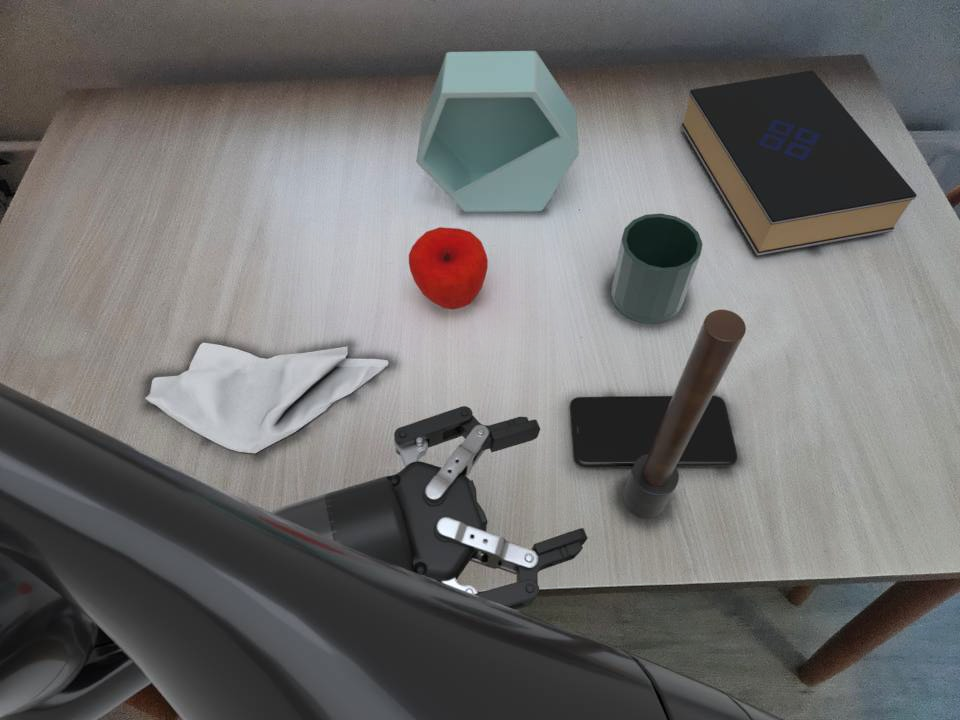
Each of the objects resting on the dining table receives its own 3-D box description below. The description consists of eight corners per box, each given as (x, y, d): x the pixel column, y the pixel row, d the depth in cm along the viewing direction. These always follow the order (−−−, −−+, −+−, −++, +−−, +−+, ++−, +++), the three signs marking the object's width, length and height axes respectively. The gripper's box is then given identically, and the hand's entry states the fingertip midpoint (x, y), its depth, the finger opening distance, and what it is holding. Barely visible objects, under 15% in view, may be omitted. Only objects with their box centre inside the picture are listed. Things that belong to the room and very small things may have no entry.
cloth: (125, 447, 67) (114, 437, 65) (170, 339, 74) (161, 327, 72) (371, 461, 65) (366, 452, 63) (392, 349, 72) (389, 337, 70)
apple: (399, 295, 76) (389, 250, 70) (452, 255, 80) (447, 208, 73) (451, 337, 73) (445, 294, 66) (505, 293, 76) (504, 247, 69)
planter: (488, 236, 87) (384, 130, 74) (490, 196, 92) (392, 89, 78) (600, 183, 79) (507, 51, 65) (597, 141, 83) (508, 9, 69)
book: (795, 112, 92) (813, 69, 86) (889, 236, 78) (918, 195, 73) (679, 131, 91) (690, 89, 85) (754, 261, 77) (773, 220, 72)
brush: (673, 507, 61) (774, 336, 38) (638, 526, 60) (719, 363, 37) (649, 472, 63) (730, 289, 40) (614, 490, 62) (677, 314, 39)
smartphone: (722, 398, 67) (568, 399, 68) (724, 393, 66) (569, 395, 67) (738, 468, 63) (573, 469, 63) (741, 464, 62) (574, 465, 62)
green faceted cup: (697, 306, 74) (718, 252, 66) (637, 334, 72) (652, 282, 64) (655, 259, 78) (670, 204, 70) (597, 284, 76) (607, 230, 69)
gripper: (354, 654, 36) (615, 561, 39) (303, 432, 42) (529, 371, 46) (365, 671, 42) (589, 589, 46) (319, 475, 49) (517, 418, 53)
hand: (559, 479), depth 46 cm, fingers open, 8 cm apart
